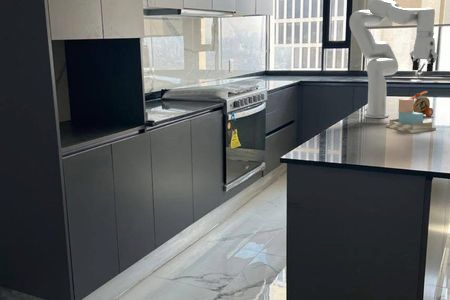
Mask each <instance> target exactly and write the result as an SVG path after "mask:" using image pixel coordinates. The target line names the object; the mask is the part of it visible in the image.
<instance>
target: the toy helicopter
mask: <svg viewBox="0 0 450 300" xmlns="http://www.w3.org/2000/svg"><path fill="white" fill-rule="evenodd" d="M428 92H429V91H427V90H424V91H421V92H420V93H419V92H418V93H416V94H415V95H413V96H411V97H409V99H414V107H413V112H417V113H422V114H423V116H426V117H428V118H430V117H432V116H433V114H434V109H433V108H432V107H430V105H431V103H430V102H431V101H430V99H429V98H428V97H426V96H423V95H425V94H427V93H428Z"/></svg>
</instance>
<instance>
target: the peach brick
mask: <svg viewBox="0 0 450 300" xmlns="http://www.w3.org/2000/svg"><path fill="white" fill-rule="evenodd" d="M409 98H410V97H409ZM409 98H399V99H398V113H399V112H404V113H406V112H414V111H413V107H414V103H415V99H409Z"/></svg>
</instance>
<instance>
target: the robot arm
mask: <svg viewBox="0 0 450 300" xmlns="http://www.w3.org/2000/svg"><path fill="white" fill-rule="evenodd" d="M367 6H368V7H367V9H361V10H356V11H354V12H353V13H352V14H351V15H350V17H349V28H350V31H351V33H352V35H353V37H354V38H355V39H356V40H355V41H356V43H357V44H358V46H359V49H360V51H361V53H362V55H363V57H364V58H365V59H367V60H369V61H368V62H367V65H366V73H367V79H368V81H367V82H368V85H367V87H368V88H367V89H368V90H367V108H364V111H365V112H366V113H364V117H365V118H371V119H384V118H388V117H389V114H388V113H386V112H387V111H386V110H387V89H388V88H387V86H388V85H387V81H386V78H385V76H392V75H395V74H396V73H398V69H399V63H398V60H397V57H396V55H395V53H394V51H393V49H392V47H391V45H390V44H389V43H388V42H386V41H385V40H376V39H375V38H374V36H373V34H372V32H371V31H370V30H369V29H368V28H366V26H367V27H371V26H372V27H374V26H378V25H380V24H381V23H382V22H383V21H385V20H386V19H387V20H388V21H389V22H392V23H395V24H398V25H402V26H403V25H404V26H405V25H406V26H407V25H416V37H415V40H414V45H413V51H411V52H410V53H409V55H410V60H411V62H412V68H411V69H412V71H414V72H415V71H419V63H420V62H419V61H420V60H426V61H427V64H426V72H427V73H432V72H433V71H434V64H435V62H436V60H437V57H438V56H439V54H438V53H437V52H436V41H435V38H434V34H435V33H434V32H435V31H434V30H435V29H434V28H435V13H436V10H435V8H432V7H426V8H425V7H424V8H422V7H421V8H417V7H416V8H415V7H414V8H410V7H409V8H402V7H400V6H399V4H398V3H397V2H396V1H394V0H370V1H369V2H368V5H367Z"/></svg>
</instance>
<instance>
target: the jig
mask: <svg viewBox="0 0 450 300" xmlns="http://www.w3.org/2000/svg"><path fill="white" fill-rule="evenodd" d="M398 119H399V117H398V118H391V119H389V123H388V124H385V127H386V128H388V127H389V128H388V129H393V130H397V131H402V132H406V133H412V134H414V133H416V134H417V133H422V132H431V131H436V130H437V127H436V126H433V121H426V122H423V123H417V124H412V125H408V124H403V123H398ZM430 130H431V131H430Z"/></svg>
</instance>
